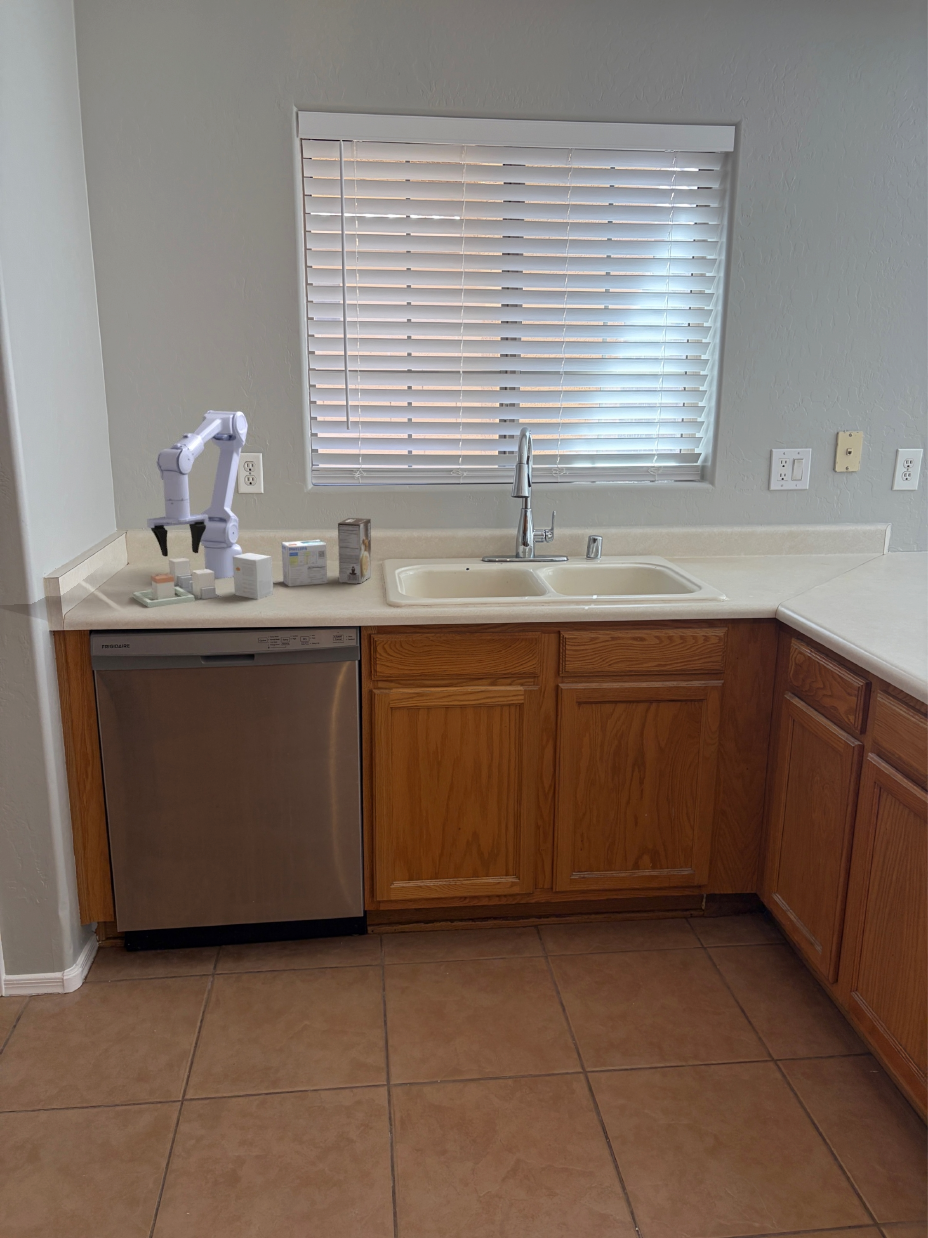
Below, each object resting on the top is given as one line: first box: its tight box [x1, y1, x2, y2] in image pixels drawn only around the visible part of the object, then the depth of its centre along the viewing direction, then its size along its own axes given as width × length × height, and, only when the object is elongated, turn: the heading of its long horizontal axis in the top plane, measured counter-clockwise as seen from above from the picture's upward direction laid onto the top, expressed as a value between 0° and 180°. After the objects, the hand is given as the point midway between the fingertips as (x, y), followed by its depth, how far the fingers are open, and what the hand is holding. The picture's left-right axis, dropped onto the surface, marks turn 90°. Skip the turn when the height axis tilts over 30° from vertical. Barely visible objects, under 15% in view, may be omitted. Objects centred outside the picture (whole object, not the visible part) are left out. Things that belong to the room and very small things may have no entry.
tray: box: [132, 587, 196, 608], centre depth 221 cm, size 11×11×2 cm
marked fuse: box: [150, 572, 176, 601], centre depth 220 cm, size 4×4×6 cm
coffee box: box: [337, 517, 372, 584], centre depth 246 cm, size 9×6×16 cm
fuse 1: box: [168, 556, 192, 585], centre depth 237 cm, size 4×4×6 cm
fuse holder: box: [174, 573, 221, 601], centre depth 231 cm, size 6×23×3 cm, turn 37°
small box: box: [233, 552, 274, 600], centre depth 226 cm, size 8×6×10 cm
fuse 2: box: [191, 568, 216, 598], centre depth 224 cm, size 4×4×6 cm
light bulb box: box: [281, 539, 328, 588], centre depth 242 cm, size 11×7×11 cm, turn 115°
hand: (180, 554), depth 227 cm, fingers open, 7 cm apart
